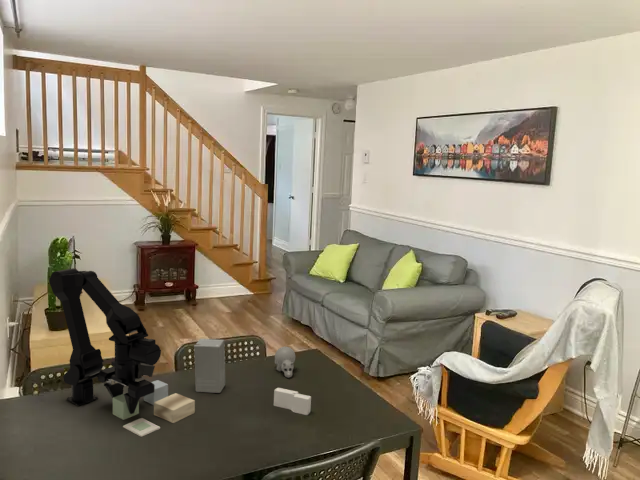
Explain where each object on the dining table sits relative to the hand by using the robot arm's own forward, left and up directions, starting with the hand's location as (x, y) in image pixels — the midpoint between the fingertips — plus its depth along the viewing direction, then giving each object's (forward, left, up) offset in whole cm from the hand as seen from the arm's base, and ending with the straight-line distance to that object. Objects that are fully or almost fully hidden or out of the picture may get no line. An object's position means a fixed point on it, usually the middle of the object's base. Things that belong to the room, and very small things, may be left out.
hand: (125, 410), depth 151 cm
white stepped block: (+34, +33, -2) cm, 47 cm away
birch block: (+10, +9, -1) cm, 14 cm away
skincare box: (+5, +27, -1) cm, 27 cm away
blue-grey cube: (-1, +11, -1) cm, 11 cm away
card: (+10, -2, -1) cm, 10 cm away
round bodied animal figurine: (+14, +54, -1) cm, 56 cm away
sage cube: (0, 0, -1) cm, 1 cm away
